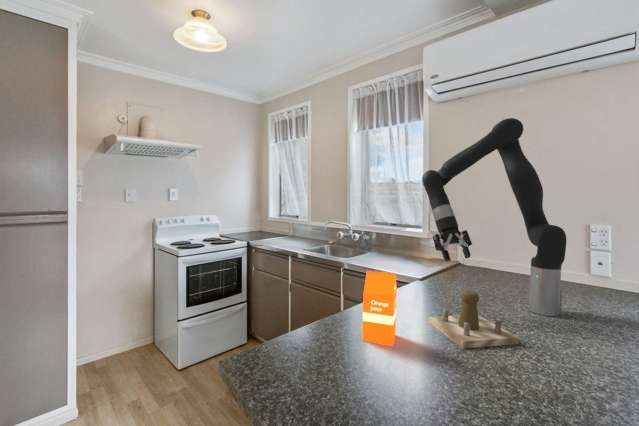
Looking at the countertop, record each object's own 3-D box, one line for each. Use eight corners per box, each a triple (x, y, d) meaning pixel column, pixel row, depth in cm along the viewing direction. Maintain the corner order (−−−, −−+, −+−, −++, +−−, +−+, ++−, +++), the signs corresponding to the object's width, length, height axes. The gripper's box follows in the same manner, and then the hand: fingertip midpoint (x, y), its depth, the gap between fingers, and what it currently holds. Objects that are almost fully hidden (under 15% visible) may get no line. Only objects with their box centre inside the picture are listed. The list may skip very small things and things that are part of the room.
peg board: (476, 319, 107) (476, 304, 107) (518, 343, 89) (519, 325, 89) (429, 322, 104) (429, 306, 103) (463, 348, 86) (463, 329, 86)
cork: (481, 331, 93) (483, 295, 92) (460, 329, 94) (461, 293, 94) (476, 323, 99) (477, 289, 98) (456, 321, 100) (457, 288, 100)
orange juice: (392, 346, 87) (394, 276, 86) (362, 340, 90) (363, 273, 89) (395, 334, 94) (397, 270, 93) (367, 330, 97) (368, 268, 96)
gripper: (434, 217, 113) (447, 259, 108) (466, 213, 117) (481, 254, 112) (423, 223, 120) (436, 264, 115) (454, 220, 124) (468, 259, 118)
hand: (458, 259), depth 113 cm, fingers open, 8 cm apart
